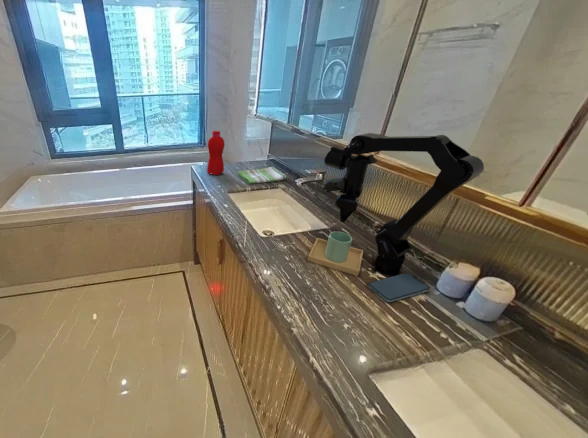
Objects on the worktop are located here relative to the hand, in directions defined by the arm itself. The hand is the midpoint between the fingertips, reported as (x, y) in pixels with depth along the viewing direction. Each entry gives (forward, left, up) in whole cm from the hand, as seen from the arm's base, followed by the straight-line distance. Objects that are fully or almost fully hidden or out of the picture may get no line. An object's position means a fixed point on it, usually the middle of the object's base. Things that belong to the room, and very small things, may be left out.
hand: (344, 216), depth 99 cm
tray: (-1, +10, -11) cm, 15 cm away
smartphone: (-19, +17, -11) cm, 28 cm away
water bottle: (+76, -45, -11) cm, 89 cm away
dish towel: (+49, -51, -11) cm, 72 cm away
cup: (-1, +10, -11) cm, 15 cm away
